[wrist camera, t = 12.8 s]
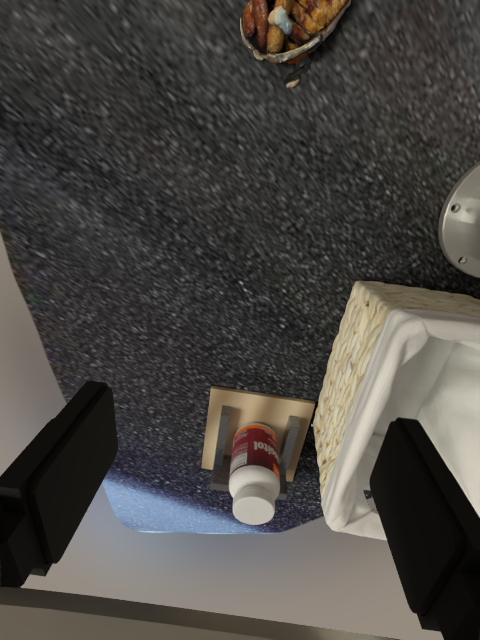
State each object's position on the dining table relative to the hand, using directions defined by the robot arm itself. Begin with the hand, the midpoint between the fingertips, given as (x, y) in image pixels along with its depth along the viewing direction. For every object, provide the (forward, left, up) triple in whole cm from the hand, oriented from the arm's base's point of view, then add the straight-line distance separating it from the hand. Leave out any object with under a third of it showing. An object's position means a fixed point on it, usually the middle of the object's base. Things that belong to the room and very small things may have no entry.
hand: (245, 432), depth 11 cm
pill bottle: (-4, +26, -26) cm, 37 cm away
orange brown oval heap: (-1, -22, -27) cm, 35 cm away
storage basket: (-18, +11, -27) cm, 35 cm away
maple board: (-4, +25, -27) cm, 37 cm away
